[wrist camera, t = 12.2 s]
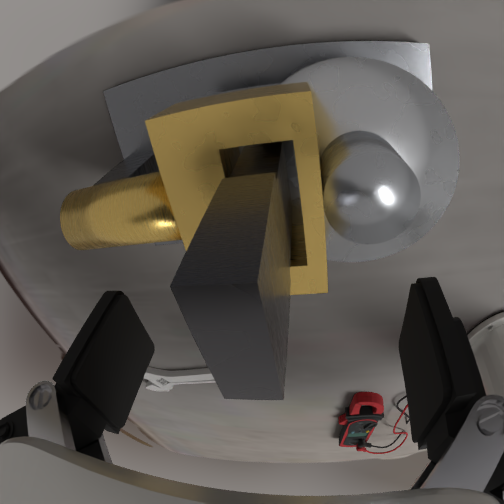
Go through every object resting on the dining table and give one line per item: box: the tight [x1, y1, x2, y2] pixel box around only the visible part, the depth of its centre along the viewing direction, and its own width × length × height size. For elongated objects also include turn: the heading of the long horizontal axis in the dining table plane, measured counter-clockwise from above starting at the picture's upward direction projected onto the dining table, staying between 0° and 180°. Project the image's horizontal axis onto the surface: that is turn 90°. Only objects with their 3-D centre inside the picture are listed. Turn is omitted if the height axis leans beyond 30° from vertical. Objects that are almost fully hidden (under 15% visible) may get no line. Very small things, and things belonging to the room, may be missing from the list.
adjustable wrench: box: [144, 367, 215, 392], centre depth 45 cm, size 25×6×2 cm, turn 108°
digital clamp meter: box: [339, 392, 410, 454], centre depth 48 cm, size 23×4×25 cm
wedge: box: [170, 141, 292, 400], centre depth 13 cm, size 2×5×12 cm, turn 10°
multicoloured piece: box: [60, 41, 460, 295], centre depth 19 cm, size 25×15×11 cm, turn 100°
